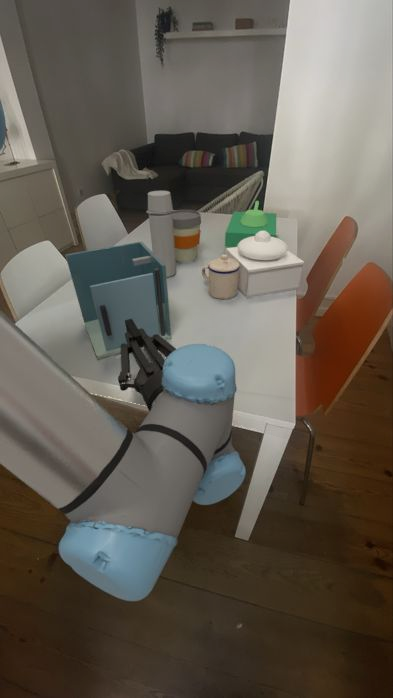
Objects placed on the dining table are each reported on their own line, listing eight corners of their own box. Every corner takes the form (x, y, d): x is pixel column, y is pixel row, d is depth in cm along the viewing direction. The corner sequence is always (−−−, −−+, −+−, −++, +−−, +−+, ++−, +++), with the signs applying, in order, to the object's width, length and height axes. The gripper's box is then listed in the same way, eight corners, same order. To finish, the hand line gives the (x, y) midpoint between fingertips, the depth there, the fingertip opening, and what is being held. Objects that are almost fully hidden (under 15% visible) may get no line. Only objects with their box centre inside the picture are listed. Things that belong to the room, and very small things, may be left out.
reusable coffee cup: (201, 263, 113) (201, 219, 104) (166, 263, 114) (163, 220, 104) (201, 250, 123) (201, 209, 114) (169, 250, 124) (166, 209, 114)
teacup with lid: (243, 290, 97) (246, 253, 89) (228, 303, 91) (230, 264, 84) (210, 281, 102) (210, 245, 95) (194, 292, 96) (193, 255, 89)
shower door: (107, 353, 71) (91, 289, 61) (105, 349, 73) (89, 285, 63) (161, 338, 76) (154, 276, 66) (158, 334, 77) (152, 272, 67)
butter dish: (271, 266, 110) (278, 218, 100) (299, 289, 96) (309, 237, 87) (224, 273, 106) (226, 224, 96) (245, 298, 93) (250, 244, 83)
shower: (97, 359, 72) (76, 283, 60) (84, 324, 83) (65, 254, 71) (171, 338, 78) (165, 264, 66) (150, 308, 89) (141, 241, 77)
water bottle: (181, 275, 106) (176, 193, 90) (160, 281, 103) (152, 197, 87) (168, 265, 112) (162, 188, 97) (147, 271, 109) (138, 191, 93)
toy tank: (277, 199, 135) (277, 224, 108) (273, 228, 143) (272, 258, 116) (236, 197, 138) (226, 221, 111) (234, 226, 146) (224, 255, 119)
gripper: (134, 433, 48) (101, 348, 65) (210, 404, 53) (160, 331, 69) (127, 399, 44) (93, 317, 60) (211, 370, 48) (157, 301, 65)
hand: (129, 325), depth 65 cm, fingers closed
